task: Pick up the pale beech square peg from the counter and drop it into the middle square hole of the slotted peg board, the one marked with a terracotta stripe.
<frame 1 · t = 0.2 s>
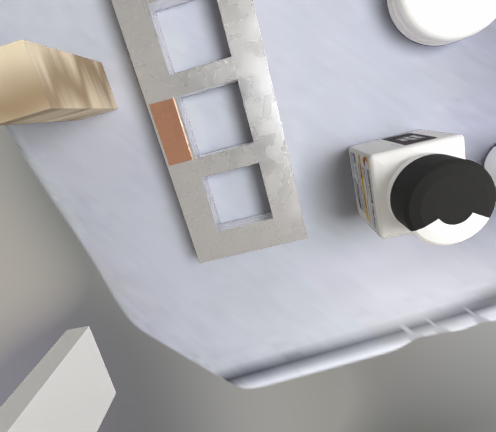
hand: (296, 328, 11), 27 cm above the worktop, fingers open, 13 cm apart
container: (388, 173, 37), on the worktop
beech peg: (89, 92, 35), on the worktop
slotted peg board: (218, 119, 35), on the worktop
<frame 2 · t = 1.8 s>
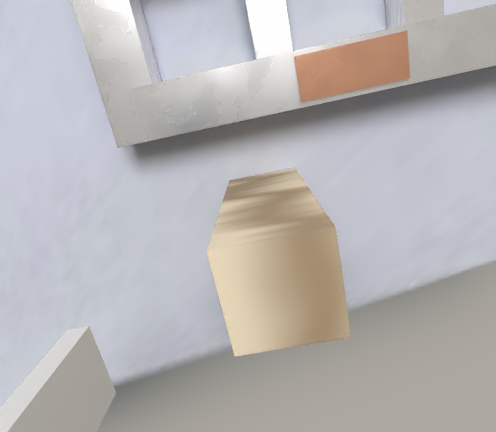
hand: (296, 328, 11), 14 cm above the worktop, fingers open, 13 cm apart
beech peg: (268, 205, 24), on the worktop
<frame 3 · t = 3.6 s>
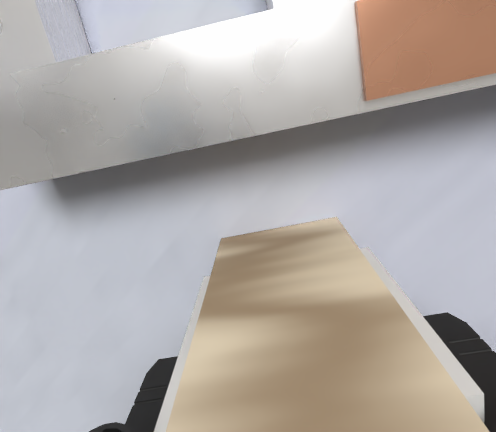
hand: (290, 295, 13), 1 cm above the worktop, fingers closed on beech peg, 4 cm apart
beech peg: (288, 279, 14), on the worktop, touching gripper
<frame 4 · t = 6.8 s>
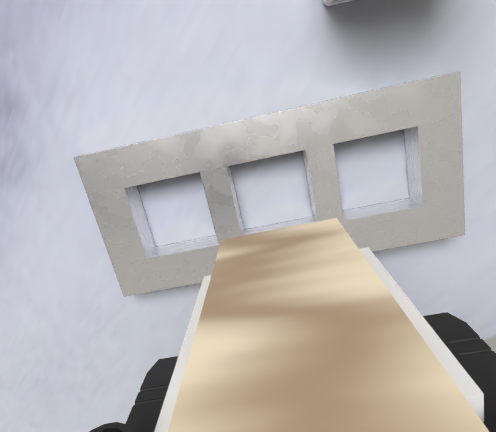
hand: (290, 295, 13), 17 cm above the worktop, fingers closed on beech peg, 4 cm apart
beech peg: (288, 280, 14), point 15 cm above the worktop, touching gripper
slotted peg board: (271, 189, 29), on the worktop
when the fingers open (4 cm above the worktop, at t = 9.8 s): beech peg drops 2 cm, resting in slotted peg board.
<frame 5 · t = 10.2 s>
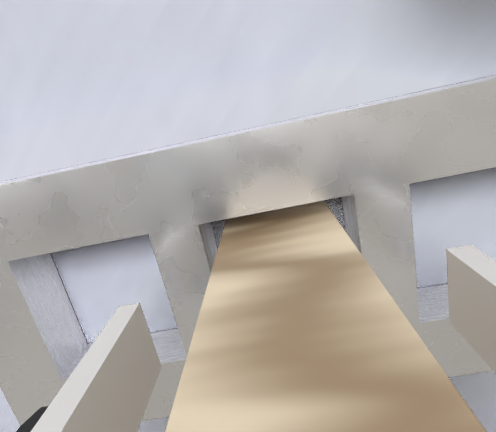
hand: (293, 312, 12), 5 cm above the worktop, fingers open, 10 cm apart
beech peg: (283, 255, 16), resting in slotted peg board
slotted peg board: (283, 254, 16), on the worktop
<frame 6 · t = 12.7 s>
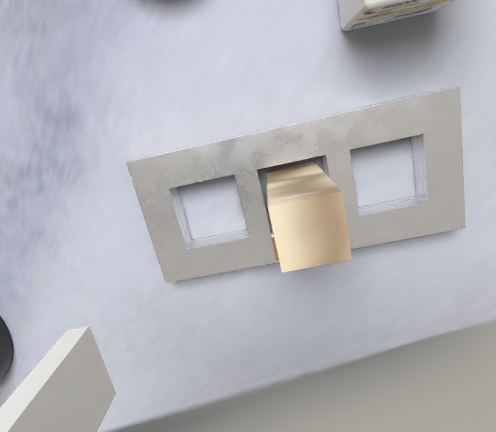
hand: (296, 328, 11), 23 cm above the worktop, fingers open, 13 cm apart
beech peg: (294, 189, 33), resting in slotted peg board
slotted peg board: (294, 189, 33), on the worktop
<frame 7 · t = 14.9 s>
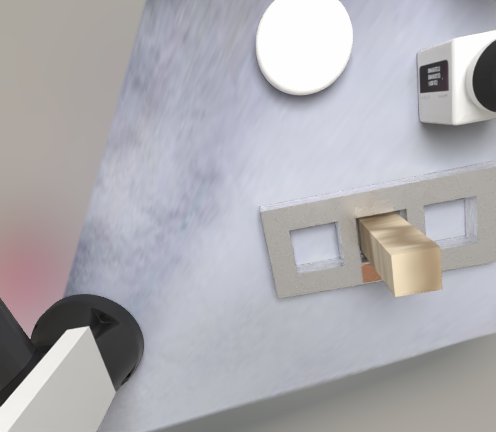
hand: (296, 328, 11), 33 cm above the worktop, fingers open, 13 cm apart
coaster: (300, 48, 38), on the worktop
container: (451, 81, 39), on the worktop
beech peg: (376, 229, 44), resting in slotted peg board
slotted peg board: (376, 229, 44), on the worktop
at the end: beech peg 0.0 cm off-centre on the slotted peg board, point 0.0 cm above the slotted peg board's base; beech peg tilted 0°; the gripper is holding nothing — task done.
